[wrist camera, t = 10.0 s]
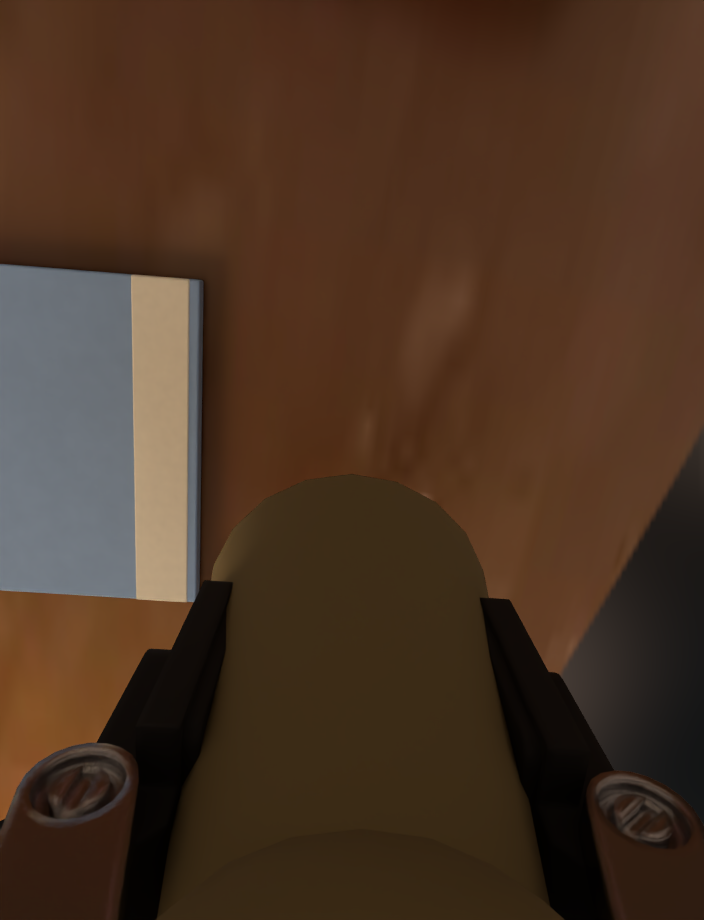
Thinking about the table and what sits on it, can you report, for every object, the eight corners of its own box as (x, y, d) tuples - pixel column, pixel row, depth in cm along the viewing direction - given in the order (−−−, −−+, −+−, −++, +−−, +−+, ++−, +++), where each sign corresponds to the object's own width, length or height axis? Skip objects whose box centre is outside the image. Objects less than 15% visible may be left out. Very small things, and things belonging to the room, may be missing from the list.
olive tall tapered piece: (499, 477, 13) (1274, 1402, 2) (475, 727, 14) (852, 1966, 4) (202, 470, 13) (-525, 1419, 2) (212, 724, 14) (-170, 2000, 4)
